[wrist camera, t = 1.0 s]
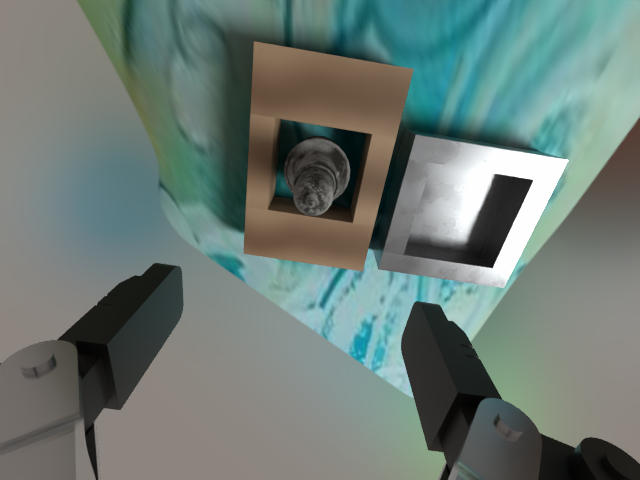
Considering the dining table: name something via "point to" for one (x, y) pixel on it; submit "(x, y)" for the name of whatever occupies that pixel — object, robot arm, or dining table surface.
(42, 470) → the robot arm
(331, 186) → the chess piece
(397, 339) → the dining table surface
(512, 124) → the dining table surface
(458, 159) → the seat block
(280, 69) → the wooden rectangular frame
